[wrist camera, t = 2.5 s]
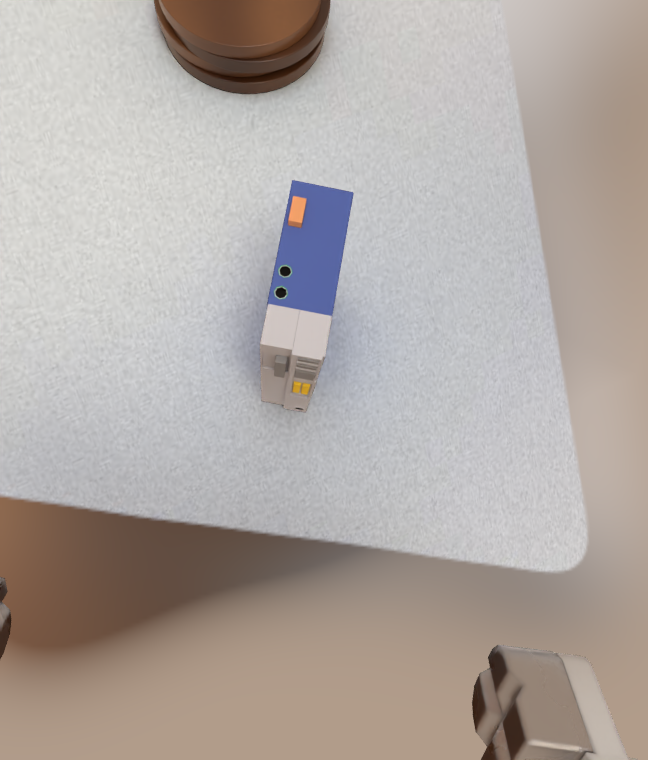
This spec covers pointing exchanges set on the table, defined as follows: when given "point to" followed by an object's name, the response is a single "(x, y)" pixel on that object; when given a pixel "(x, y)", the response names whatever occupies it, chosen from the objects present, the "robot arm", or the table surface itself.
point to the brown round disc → (244, 40)
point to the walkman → (303, 293)
